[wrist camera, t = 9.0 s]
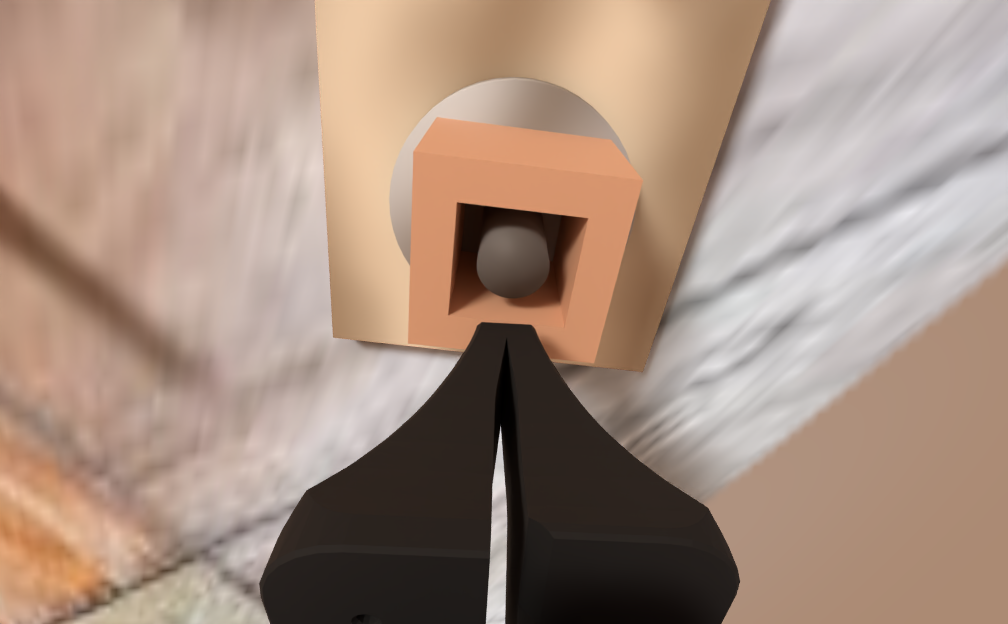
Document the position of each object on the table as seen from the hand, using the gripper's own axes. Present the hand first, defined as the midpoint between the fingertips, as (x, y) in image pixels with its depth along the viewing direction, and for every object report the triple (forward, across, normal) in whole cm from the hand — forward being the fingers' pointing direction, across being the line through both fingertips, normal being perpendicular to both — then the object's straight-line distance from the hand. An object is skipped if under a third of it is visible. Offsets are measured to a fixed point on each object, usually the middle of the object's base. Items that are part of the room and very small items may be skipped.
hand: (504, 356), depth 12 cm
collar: (+5, 0, -2) cm, 5 cm away
